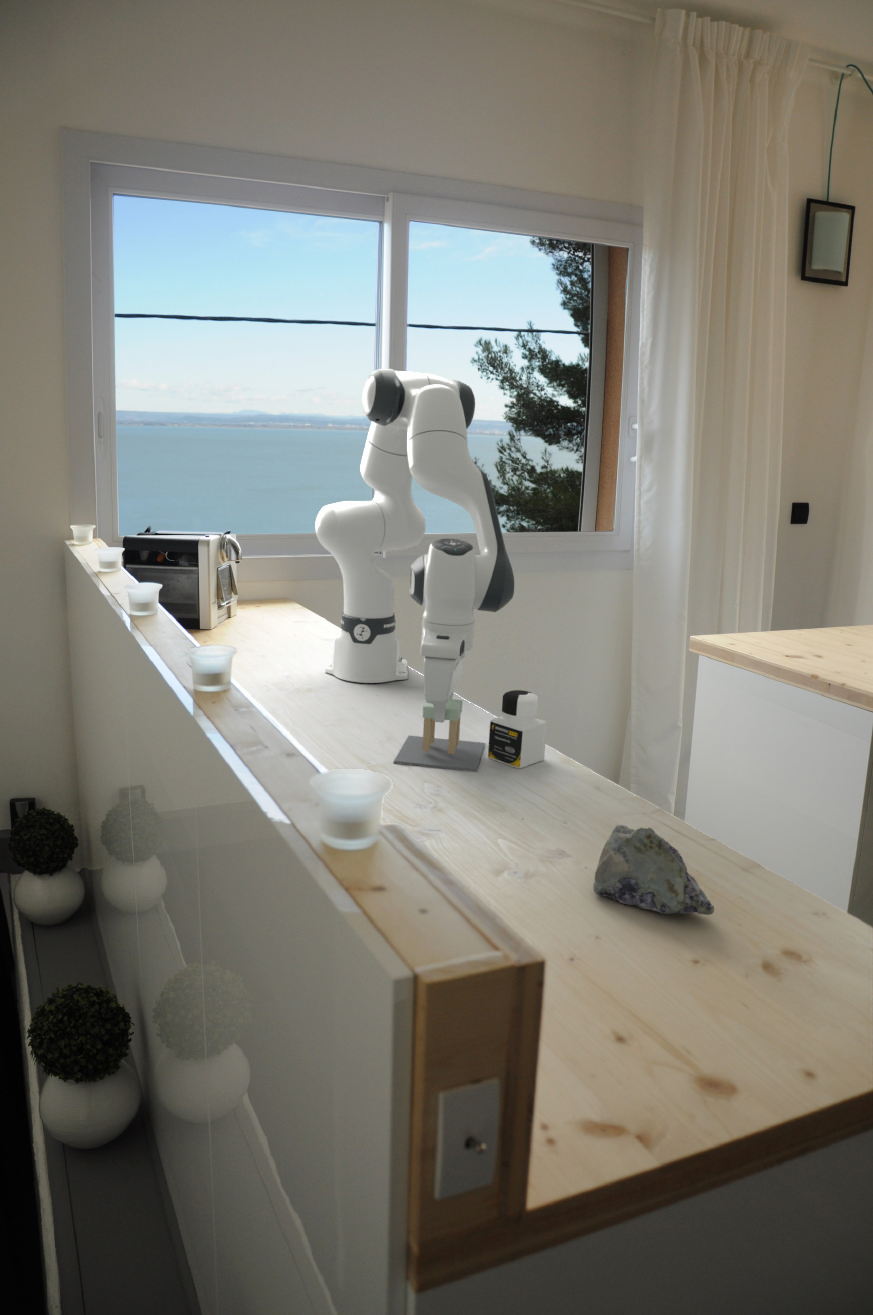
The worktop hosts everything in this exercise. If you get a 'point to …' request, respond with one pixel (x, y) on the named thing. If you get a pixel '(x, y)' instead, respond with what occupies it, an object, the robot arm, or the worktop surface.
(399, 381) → the robot arm
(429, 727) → the stool
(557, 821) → the worktop surface
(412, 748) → the mat
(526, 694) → the medicine bottle
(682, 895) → the mineral rock
